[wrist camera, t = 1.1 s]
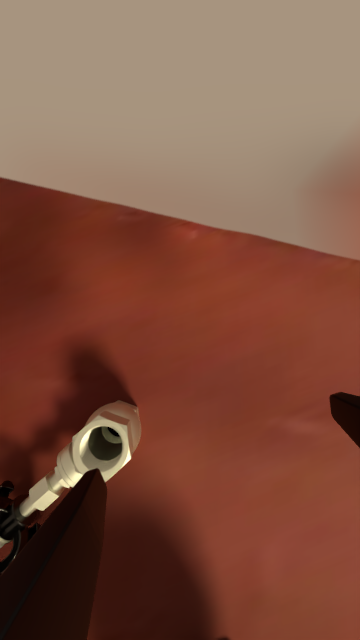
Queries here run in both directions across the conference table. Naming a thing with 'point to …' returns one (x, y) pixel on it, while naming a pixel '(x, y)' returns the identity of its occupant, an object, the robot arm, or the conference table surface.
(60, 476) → the valve
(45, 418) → the conference table surface
